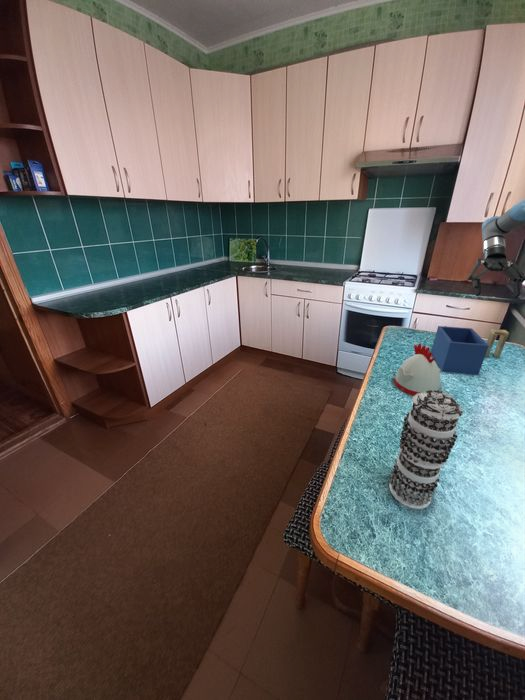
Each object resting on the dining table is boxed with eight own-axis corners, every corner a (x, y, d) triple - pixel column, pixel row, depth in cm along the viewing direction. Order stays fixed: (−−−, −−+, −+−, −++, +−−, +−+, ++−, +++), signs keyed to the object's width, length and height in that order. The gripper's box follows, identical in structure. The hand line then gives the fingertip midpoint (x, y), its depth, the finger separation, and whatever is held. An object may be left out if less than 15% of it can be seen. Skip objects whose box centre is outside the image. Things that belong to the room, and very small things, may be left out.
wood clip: (495, 354, 119) (505, 329, 114) (499, 358, 116) (509, 332, 111) (482, 353, 120) (491, 328, 115) (485, 356, 117) (494, 331, 112)
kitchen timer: (417, 372, 108) (426, 335, 101) (448, 392, 96) (461, 352, 89) (385, 378, 104) (393, 341, 97) (414, 400, 92) (425, 359, 86)
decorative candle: (380, 493, 63) (403, 400, 52) (395, 467, 69) (419, 379, 58) (425, 519, 58) (462, 422, 47) (438, 489, 64) (473, 396, 53)
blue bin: (430, 351, 122) (438, 325, 117) (463, 354, 119) (471, 328, 114) (441, 371, 108) (450, 342, 103) (478, 374, 105) (489, 345, 100)
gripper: (522, 257, 124) (527, 301, 118) (457, 255, 130) (458, 298, 124) (534, 245, 117) (540, 292, 111) (465, 244, 123) (467, 289, 117)
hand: (497, 295), depth 117 cm, fingers open, 13 cm apart
